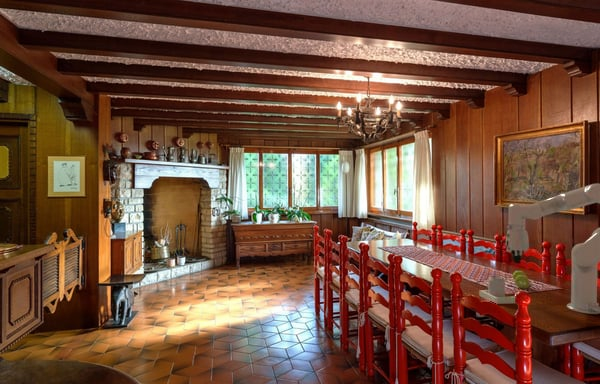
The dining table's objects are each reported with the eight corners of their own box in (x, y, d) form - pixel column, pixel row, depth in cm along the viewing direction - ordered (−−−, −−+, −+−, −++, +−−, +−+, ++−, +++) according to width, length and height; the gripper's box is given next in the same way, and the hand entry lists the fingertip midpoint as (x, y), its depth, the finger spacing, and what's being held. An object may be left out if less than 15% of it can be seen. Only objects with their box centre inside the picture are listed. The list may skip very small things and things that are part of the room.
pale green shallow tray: (515, 303, 178) (515, 297, 178) (494, 303, 177) (494, 297, 177) (498, 295, 191) (498, 289, 191) (479, 295, 190) (479, 290, 190)
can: (490, 296, 189) (490, 274, 189) (506, 299, 184) (506, 276, 184) (486, 299, 184) (486, 276, 183) (502, 302, 179) (503, 279, 178)
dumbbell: (530, 289, 202) (530, 277, 202) (514, 287, 206) (514, 275, 206) (526, 282, 217) (527, 271, 217) (511, 281, 221) (512, 269, 221)
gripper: (508, 229, 180) (508, 265, 180) (535, 228, 181) (535, 264, 182) (498, 227, 187) (498, 261, 188) (525, 227, 189) (524, 261, 189)
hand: (516, 263), depth 185 cm, fingers closed
